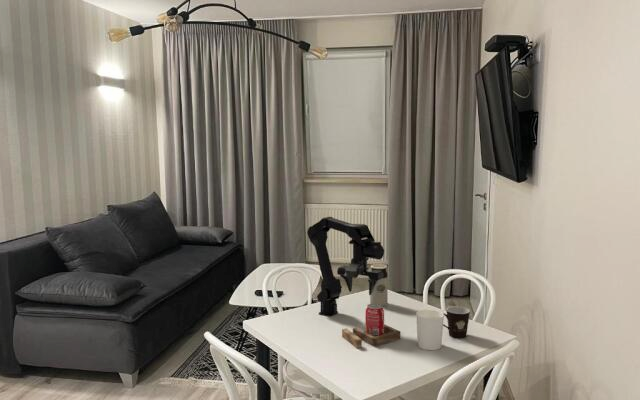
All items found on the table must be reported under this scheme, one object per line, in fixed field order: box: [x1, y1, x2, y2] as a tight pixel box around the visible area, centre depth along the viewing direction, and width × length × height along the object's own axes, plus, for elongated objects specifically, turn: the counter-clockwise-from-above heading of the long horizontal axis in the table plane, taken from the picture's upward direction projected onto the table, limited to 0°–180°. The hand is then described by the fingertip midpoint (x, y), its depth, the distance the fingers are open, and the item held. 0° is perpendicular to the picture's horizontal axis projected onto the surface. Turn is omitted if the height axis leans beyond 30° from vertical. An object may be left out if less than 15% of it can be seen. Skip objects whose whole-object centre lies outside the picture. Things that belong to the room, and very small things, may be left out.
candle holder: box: [415, 309, 445, 351], centre depth 176 cm, size 10×10×12 cm
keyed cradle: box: [352, 323, 401, 347], centre depth 184 cm, size 13×13×3 cm
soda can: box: [365, 303, 385, 337], centre depth 184 cm, size 7×7×12 cm
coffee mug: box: [442, 305, 471, 339], centre depth 186 cm, size 12×9×10 cm
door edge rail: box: [341, 328, 363, 349], centre depth 180 cm, size 12×2×3 cm, turn 24°
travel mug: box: [369, 263, 389, 307], centre depth 223 cm, size 8×8×18 cm
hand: (360, 293), depth 197 cm, fingers open, 9 cm apart
